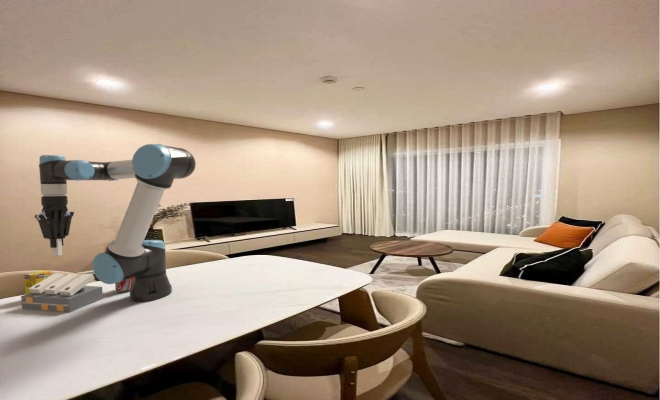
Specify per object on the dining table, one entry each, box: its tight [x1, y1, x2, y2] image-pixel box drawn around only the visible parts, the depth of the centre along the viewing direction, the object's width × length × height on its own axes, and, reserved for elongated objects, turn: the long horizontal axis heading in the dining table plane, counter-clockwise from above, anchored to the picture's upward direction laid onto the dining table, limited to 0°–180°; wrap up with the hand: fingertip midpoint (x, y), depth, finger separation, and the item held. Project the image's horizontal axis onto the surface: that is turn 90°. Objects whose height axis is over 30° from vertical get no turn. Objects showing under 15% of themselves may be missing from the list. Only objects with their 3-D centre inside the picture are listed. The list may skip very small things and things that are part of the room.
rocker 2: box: [43, 273, 80, 294], centre depth 117 cm, size 5×10×2 cm, turn 170°
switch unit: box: [20, 285, 104, 313], centre depth 118 cm, size 22×13×6 cm, turn 80°
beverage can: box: [114, 277, 134, 294], centre depth 132 cm, size 8×8×12 cm
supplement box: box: [23, 270, 52, 295], centre depth 123 cm, size 6×6×11 cm
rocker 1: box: [29, 272, 66, 294], centre depth 119 cm, size 5×10×2 cm, turn 170°
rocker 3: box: [59, 273, 95, 296], centre depth 116 cm, size 5×10×2 cm, turn 170°
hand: (57, 255), depth 118 cm, fingers closed
